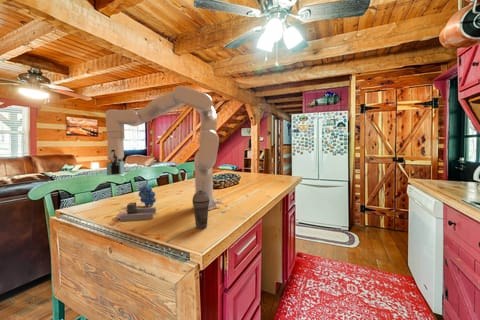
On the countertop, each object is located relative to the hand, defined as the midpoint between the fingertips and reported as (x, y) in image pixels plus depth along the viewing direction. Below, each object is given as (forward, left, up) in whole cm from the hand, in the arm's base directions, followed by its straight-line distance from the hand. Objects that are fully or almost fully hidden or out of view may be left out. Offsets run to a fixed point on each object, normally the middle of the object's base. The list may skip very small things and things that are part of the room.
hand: (117, 172), depth 111 cm
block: (+1, 0, -1) cm, 1 cm away
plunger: (-5, +4, -21) cm, 22 cm away
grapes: (-10, -14, -22) cm, 28 cm away
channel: (-10, +4, -21) cm, 24 cm away
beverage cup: (-39, +25, -22) cm, 51 cm away
